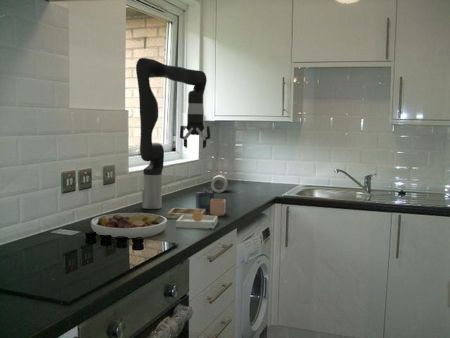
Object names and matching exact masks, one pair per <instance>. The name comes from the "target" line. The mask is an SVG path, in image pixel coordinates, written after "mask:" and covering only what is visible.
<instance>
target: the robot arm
mask: <svg viewBox="0 0 450 338" xmlns="http://www.w3.org/2000/svg"><path fill="white" fill-rule="evenodd" d="M135 73H136V78H137V80H136V81H137V86H138V96H139V97H138V98H139V119H140V122H139V123H140V137H139V138H140V139H139V142H140V143H139V152H140V158H141V159H142V160H143V162H149V164H148V165H147V166H146V167H145V168H144V169H143V176H142V177H143V178H142V179H143V182H142V183H143V188H142V190H141V191H142V192H141V197H142V198H141V199H142V200H141V201H142V202H141V205H142V206H141V207H142V208H141V209H146V210H147V209H148V210H156V209H157V210H159V209H162V201H163V199H162V197H163V195H162V192H163V191H162V190H163V189H162V188H163V187H162V184H163V182H162V181H163V177H162V175H163V174H162V172H163V170H164V162H165V161H164V160H165V151H164V146H163V145H162V144H161V143H160V142H153V131H154V128H155V126H156V124H157V122H158V120H159V104H158V101H157V98H156V95H155V94H154V92H153V90H152V88H151V84H150V83H151V82H150V79H151V78H165V79H167V80H170V81H173V82H177V83H183V84H186V85H189V86H193V89H192V90H190V91H188V94H187V108H186V109H187V116H186V117H187V119H186V120H187V121H186V122H187V124H186V125H180V126H179V127H180V128H179V130H180V131H179V138H180V139H182V140H183V147H184V148H185V149H187V148H188V139H189V137H190V136H191V135H192V136H199V135H200V137H201V138H202V148H203V149H205V148H206V147H207V140H209V139H211V126H209V125H207V126H204V93H205V90H206V87H207V81H208V80H207V75H206V73H205V72H204V71H202V70H198V69H197V70H196V69H191V68H190V69H189V68H186V67H183V66H182V67H181V66H178V65H177V66H176V65H167V64H165V63H162V62H160V61H158V60H156V59H153V58H147V57H140V58H138V60H137V62H136V65H135ZM186 130H187V133H186V134H185V135H184V131H186ZM204 130H205V131H206V135H205V133H204V132H203V131H204Z"/></svg>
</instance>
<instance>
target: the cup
mask: <svg viewBox="0 0 450 338" xmlns="http://www.w3.org/2000/svg"><path fill="white" fill-rule="evenodd" d="M209 214H210V216H218V217H222V216H225V215H226V199H225V198H214V199H211V200H210V210H209Z"/></svg>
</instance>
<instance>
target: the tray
mask: <svg viewBox="0 0 450 338" xmlns="http://www.w3.org/2000/svg"><path fill="white" fill-rule="evenodd" d="M192 216H193V215H182V216H181V217H180V218H177V220H176V221H175V222H176V223H175V227H176V228H187V229H188V228H189V229H191V228H193V229H209V228H212V230H213V229H215V227H216V225H217V224H218V221H219V219H218V217H219V216H213V215H207V214H205V215H203V218H202V220H201V221H194V220H193V218H192Z"/></svg>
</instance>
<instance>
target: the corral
mask: <svg viewBox="0 0 450 338" xmlns="http://www.w3.org/2000/svg"><path fill="white" fill-rule="evenodd" d="M197 211H198V212H201V213H202V215H207V212H206V211H207V210H206V209H196V208H187V207H184V208H183V207H173V208H171V209H170V210H169V211H168V212H167V213H166V219H179V218H180V217H181V216H182V215H193V213H194V212H197Z"/></svg>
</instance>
